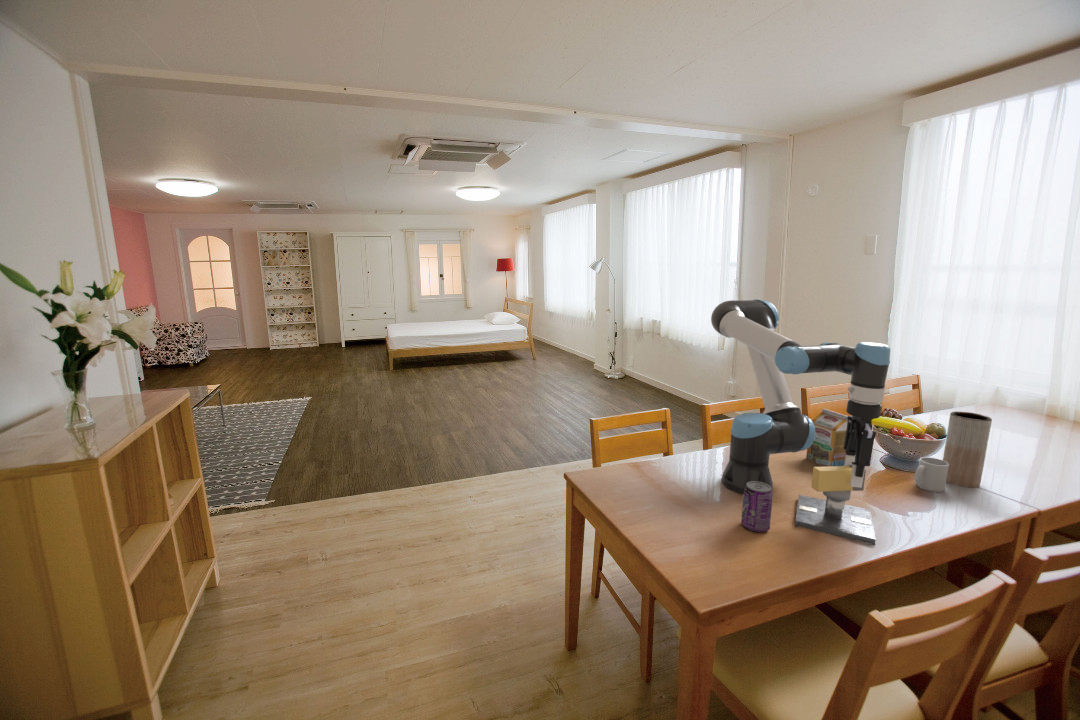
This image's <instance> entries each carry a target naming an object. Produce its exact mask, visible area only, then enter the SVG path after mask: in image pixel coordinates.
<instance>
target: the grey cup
mask: <svg viewBox="0 0 1080 720" xmlns="http://www.w3.org/2000/svg"><path fill="white" fill-rule="evenodd" d="M918 462H919V463H918V467H917V468H916V470H915V473H914V482H915V484H916V486H917V487H918V488H919V489H922V490H925V491H928V492H932V493H942V492H944V491H945V489H946V484H947V482H946V479H947V473H948V467H949V464H948V463H947V462H945V461H943V459H939V458H937V457H936V458H935V457H929V456H924V457H923V456H922V457H919V461H918Z"/></svg>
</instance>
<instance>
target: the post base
mask: <svg viewBox="0 0 1080 720" xmlns="http://www.w3.org/2000/svg"><path fill="white" fill-rule="evenodd" d="M825 498H826V499H822V498H816V497H812V496H807V495H803V494H798V499H797V507H796V513H795V515H796V516H795V523H794V526H795V527H800V528H802V529H803V528H804V529H807V530H811V531H816V532H820V533H823V534H829V535H832V536H836V537H841V538H844V539H849V540H852V541H857V542H861V543H865V544H869V545H874V546H875V545H876V541H877V540H876V539H877V538H876V534H875V528H874V522H873V516H872V511H871V509H868V508H866V507H865V508H864V507H860V506H854V505H851V504H846V501H839V500H834V499H831V498H828V497H826V496H825Z"/></svg>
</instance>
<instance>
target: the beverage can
mask: <svg viewBox="0 0 1080 720" xmlns="http://www.w3.org/2000/svg"><path fill="white" fill-rule="evenodd" d="M771 489H772V491H771ZM773 496H774V495H773V488H771V486H769V485H768V484H766V483H763V482H758V481H750V482H747V484H746V487H745V489H744V494H743V499H742V508H741V509H742V510H741V511H742V512H741V520H740V521H741V524H742V526H743V527H745V528H746V529H748V530H750V531H752V532H756V533H762V532H767V531H769V530H770V529H771V518H772V508H773V507H772V506H773V500H774V499H773Z"/></svg>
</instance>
